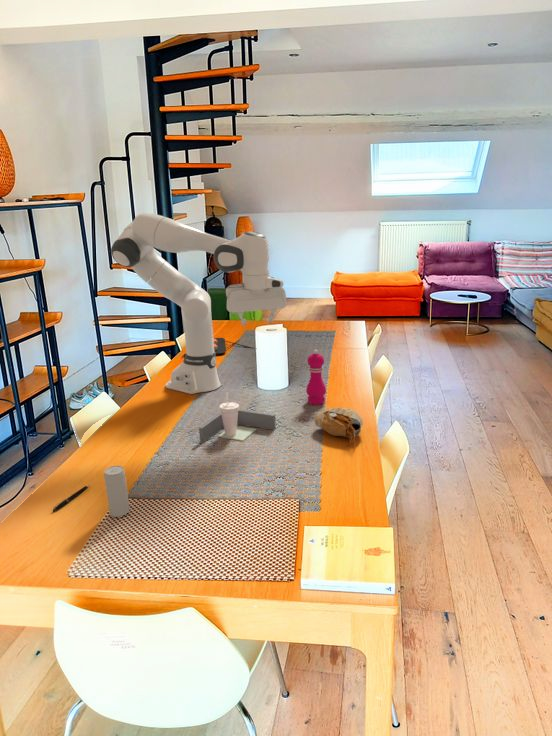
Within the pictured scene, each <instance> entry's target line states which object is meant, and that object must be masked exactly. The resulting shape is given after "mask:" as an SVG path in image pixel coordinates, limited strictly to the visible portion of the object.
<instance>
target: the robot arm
mask: <svg viewBox="0 0 552 736" xmlns="http://www.w3.org/2000/svg"><path fill="white" fill-rule="evenodd" d="M155 249H157V250H161V251H163V252H168V253H174V254H179V253H180V254H181V253H187V252H197V251H198V252H205V253H208V254H209V253H210V254H213V262H214V265H215V266H216V268H217V269H218V270H219V271H221V272H223V273H234V272H236V271H240V272H241V275H242V277H241V278H242V283H236V284H234V283H233V284H230V285H228V286H227V287H226V288H225V296H226V310H227V312H229V314H237V316H238V317H239V319H240V323H241V324H240V325H242V326H246V325H248V323H247V322H248V321H247V320H248V319H246V318H244V317H243V316H244V313H248V312H255V311H256V312H257V311H266V310H267V311H268V310H270V315H269V316H267V323H274V317H275V316H276V313H277V310H278V309H285V308H286V306H287V293H286V291H285V288H284V287H283V286H284V281H283V280H281V279H280V278H275V277H273V276H270V270H269V267H268V266H269V257H270V255H269V254H270V253H269V245H268V241H267V238H266V236H265V235H264V234H262V233H260V232H256V231H245V232H243V233H241V235H240V236H238V237H236V238H234V239H229V238H225V237H222V236H218V235H216V234H211V233H208V232H204V231H203V230H200V229H197V228H196V227H195V228H194V227H192V226H189V225H186V224H185V223H182V222H180V221H177V220H174V219H173V218H169V217H167V216H164V215H161V214H156V213H155V214H154V213H148V212H141V213H139V214H137V215H136V216H135V218H134V219H133V221H131V222H130V223H129V224H128V225H127V226H126V227H125V228H124V229H123V231H122V232H121V233H120V235H119V236H118V237H117V239H116V240H115V241H114V242H113V244H112V245H111V248H110V253H111V257H112V258H113V260H114V261H115V262H116V263H117V264H119V266H122V267H124V268H131V269H132V270H133V272H134V273H136V274H137V275H136V276H139V278H140V279H141V280H143V282H144V283H146V284H148V285H149V286H150V287H151V288H152V289H153V290H155V291H156V292H158V294H159V295H161V296H162V297H164V298H166V299H168V300H170V301H171V302H173V303H175V304H176V305H177V306H179V307H180V309H181V316H182V325H183V333H184V339H185V351H186V352H185V353H184V354H182V355H181V356H180V357H181V358H180V359H183V361H182V362H181V363H180V364H179V365H178V366H176V367H175V368H174V369H173V370H172V372H171V374H170V380H169V381H168V382H166V383H165V389H169V390H174V391H178V392H182V393H184V394H185V393H186V394H188V395H193V394H194V395H195V394H197V393H204V392H210V391H211V392H212V391H214V390H218V389H219V388H220V387H221V385H222V384H221V382H220V379H219V375H218V374H219V373H218V369H217V356H216V355H217V354H216V353H215V351H214V340H213V338H214V331H213V330H214V329H213V320H212V319H213V318H212V298H211V296H210V294H209V293H208V291H206V290H205V289H203V288H202V287H201V286H200V285H198V284H197V283H196V282H194V281H193V280H191V279H190V278H189V277H187V276H186V275H184V274H183V273H181V272H180V271H179V270H177V269H176V268H175V267H174V266H172V265H171V264H170V263H169V262H168V261H167V260H165V259H164V258H163V257H162V256H161V255H159V254H158V253H157V252H156V251H155Z"/></svg>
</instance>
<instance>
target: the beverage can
mask: <svg viewBox="0 0 552 736" xmlns="http://www.w3.org/2000/svg"><path fill="white" fill-rule="evenodd" d="M103 475H104V476H103V477H104V483H105V484H104V485H105V489H106V490H105V491H106V495H107V496H106V497H107V504H108V509H109V510H108V511H109V515H110V516H111V517H113V516H114V517H113V518H116V517H119V516H123V515H125V514H127V513H128V514H129V513H130V509H131V508H130V501H129V493H128V492H129V491H128V485H127V478H126V472H125V468H124V467H123V466H121V465H113V466H110V467H107V468H106V469H105V470H104V474H103ZM128 514H127V515H128ZM125 516H126V515H125ZM123 517H124V516H123ZM119 518H120V517H119Z"/></svg>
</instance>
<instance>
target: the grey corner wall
mask: <svg viewBox="0 0 552 736" xmlns="http://www.w3.org/2000/svg"><path fill="white" fill-rule="evenodd" d="M276 420H277V419H276V414H275V413H268V412H261V411H254V410H249V409H248V410H247V409H241V408H239V409H238V420H237V433H236V434H235V435H232V436H228V435H226V434H225V430H224V431H223V432H221V433H220V434H219V435H218V438H222V439H229V440H235V441H239V442H240V441H241V442H245V440H247V439H248V438H249V437H250V436H251V435H253V433H255V432H256V431H257V429H256V428H259V429H260V428H261V429H267V430H273V431H275V430H276V428H277V425H276ZM238 425H239V426H238ZM240 425H241V426H240ZM247 426H248V427H247ZM251 427H255V428H251ZM222 429H224V425H223V420H222V415H221V411H220V412H219V413H218V414H216V415H215V416H213V417H212V418H210V420H207V421H206V422H205V423H204V424H202V425H201V426H199V427H198V431H199V442H200V443H202V444H203V443H205V442H207V441H208V440H209V439H210V438H211V437H213V436H214V435H215V434H217V433H219V431H221V430H222Z"/></svg>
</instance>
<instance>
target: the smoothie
mask: <svg viewBox="0 0 552 736" xmlns="http://www.w3.org/2000/svg"><path fill="white" fill-rule="evenodd" d="M225 399H226V402H223V403H221V404H220V405H218V407H219V408H218V409H219V411H220V412H221V415H222V420H223V425H224V427H223V430H224V431H225V434H226V435H228V436H232V435H235V434H236V433H237V426H238V424H237V420H238V409H240V405H239V403H238V402H233V401H229V393H228V392H225Z"/></svg>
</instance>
